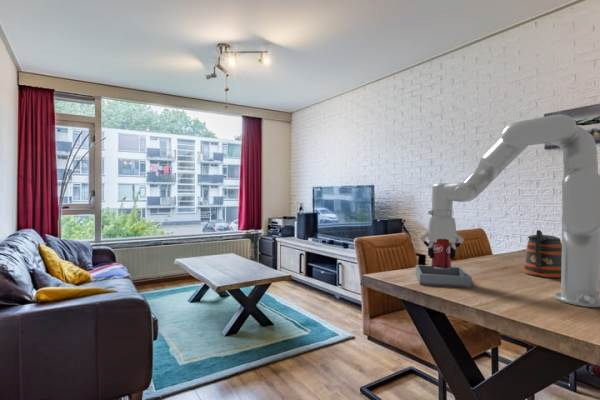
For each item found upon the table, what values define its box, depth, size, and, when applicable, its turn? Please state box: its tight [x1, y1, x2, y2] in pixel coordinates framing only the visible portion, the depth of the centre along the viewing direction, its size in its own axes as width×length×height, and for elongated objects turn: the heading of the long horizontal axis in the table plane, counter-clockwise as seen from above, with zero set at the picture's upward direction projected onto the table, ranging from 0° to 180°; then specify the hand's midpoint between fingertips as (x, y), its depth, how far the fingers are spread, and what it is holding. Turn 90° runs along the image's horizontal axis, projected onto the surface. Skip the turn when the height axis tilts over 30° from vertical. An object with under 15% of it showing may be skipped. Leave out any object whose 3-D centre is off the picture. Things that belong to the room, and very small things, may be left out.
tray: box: [415, 264, 473, 289], centre depth 134 cm, size 18×18×4 cm
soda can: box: [431, 238, 452, 269], centre depth 134 cm, size 7×7×12 cm
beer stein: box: [523, 229, 562, 279], centre depth 144 cm, size 19×15×20 cm
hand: (441, 258), depth 134 cm, fingers closed on soda can, 7 cm apart
